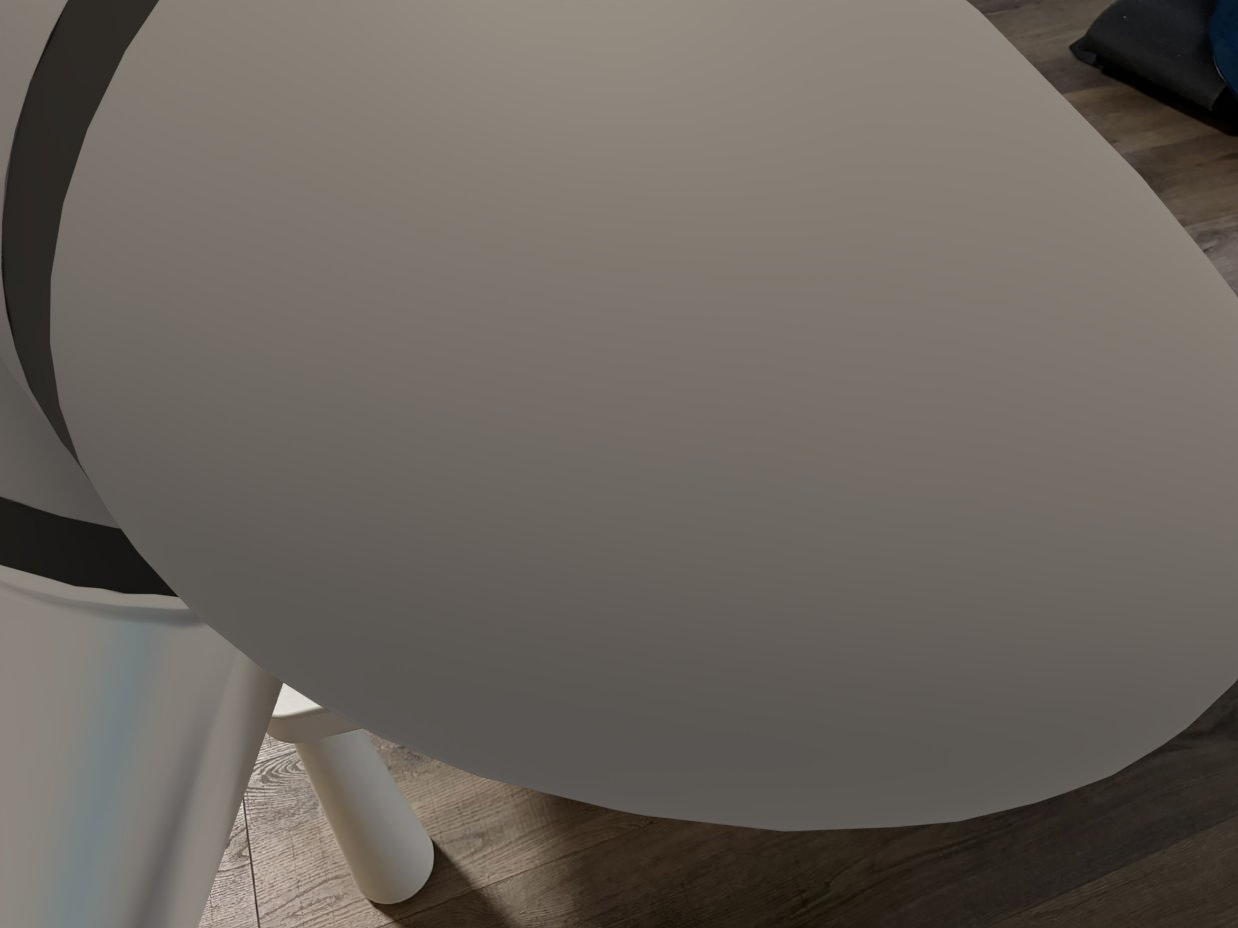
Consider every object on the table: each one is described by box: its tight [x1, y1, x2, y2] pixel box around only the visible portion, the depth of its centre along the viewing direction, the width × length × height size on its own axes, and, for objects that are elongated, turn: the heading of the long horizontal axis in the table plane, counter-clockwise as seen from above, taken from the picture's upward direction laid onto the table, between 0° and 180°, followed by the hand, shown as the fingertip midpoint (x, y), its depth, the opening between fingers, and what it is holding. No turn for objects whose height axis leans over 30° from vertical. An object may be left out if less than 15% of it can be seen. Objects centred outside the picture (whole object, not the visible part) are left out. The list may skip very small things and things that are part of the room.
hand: (386, 397), depth 59 cm, fingers open, 13 cm apart
